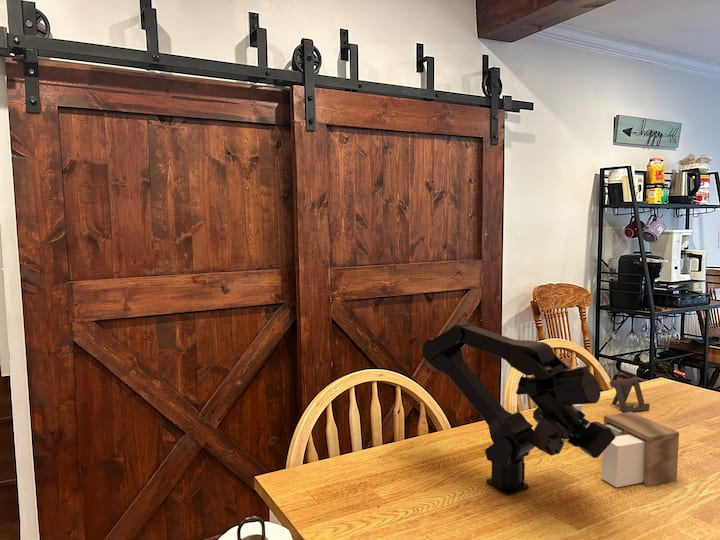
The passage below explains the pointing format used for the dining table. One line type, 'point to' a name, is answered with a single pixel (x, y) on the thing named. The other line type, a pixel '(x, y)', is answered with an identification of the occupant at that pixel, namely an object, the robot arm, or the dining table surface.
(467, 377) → the robot arm
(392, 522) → the dining table surface
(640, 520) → the dining table surface
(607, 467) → the white plug
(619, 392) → the portable electronic device stand
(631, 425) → the walnut housing
